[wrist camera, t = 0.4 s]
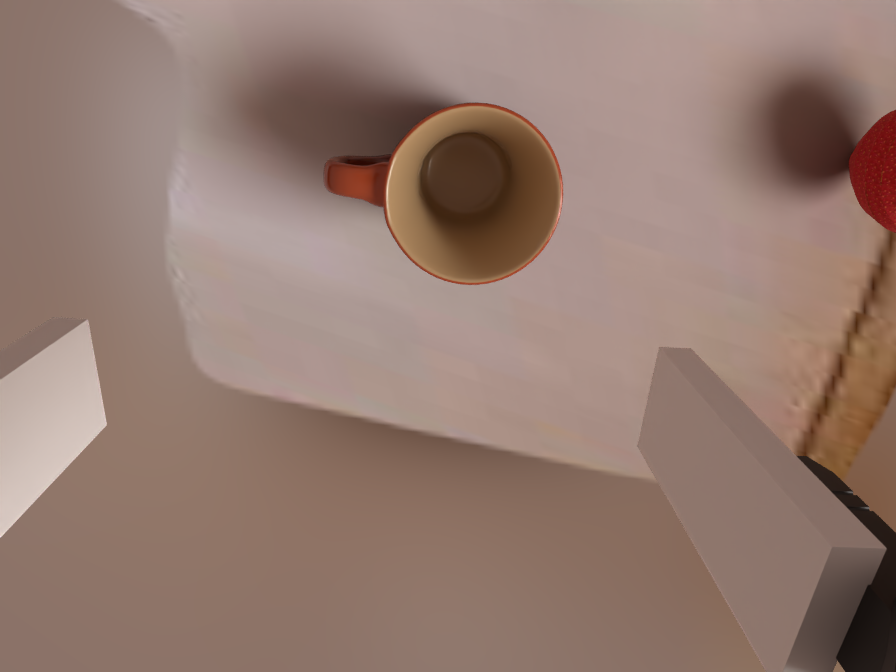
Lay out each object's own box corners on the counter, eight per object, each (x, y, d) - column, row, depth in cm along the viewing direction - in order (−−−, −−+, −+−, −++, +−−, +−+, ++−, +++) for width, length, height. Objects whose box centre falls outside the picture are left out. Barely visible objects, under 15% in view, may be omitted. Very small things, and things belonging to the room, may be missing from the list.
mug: (542, 109, 37) (580, 116, 28) (518, 246, 41) (545, 294, 31) (348, 82, 36) (319, 80, 27) (339, 224, 40) (311, 267, 30)
